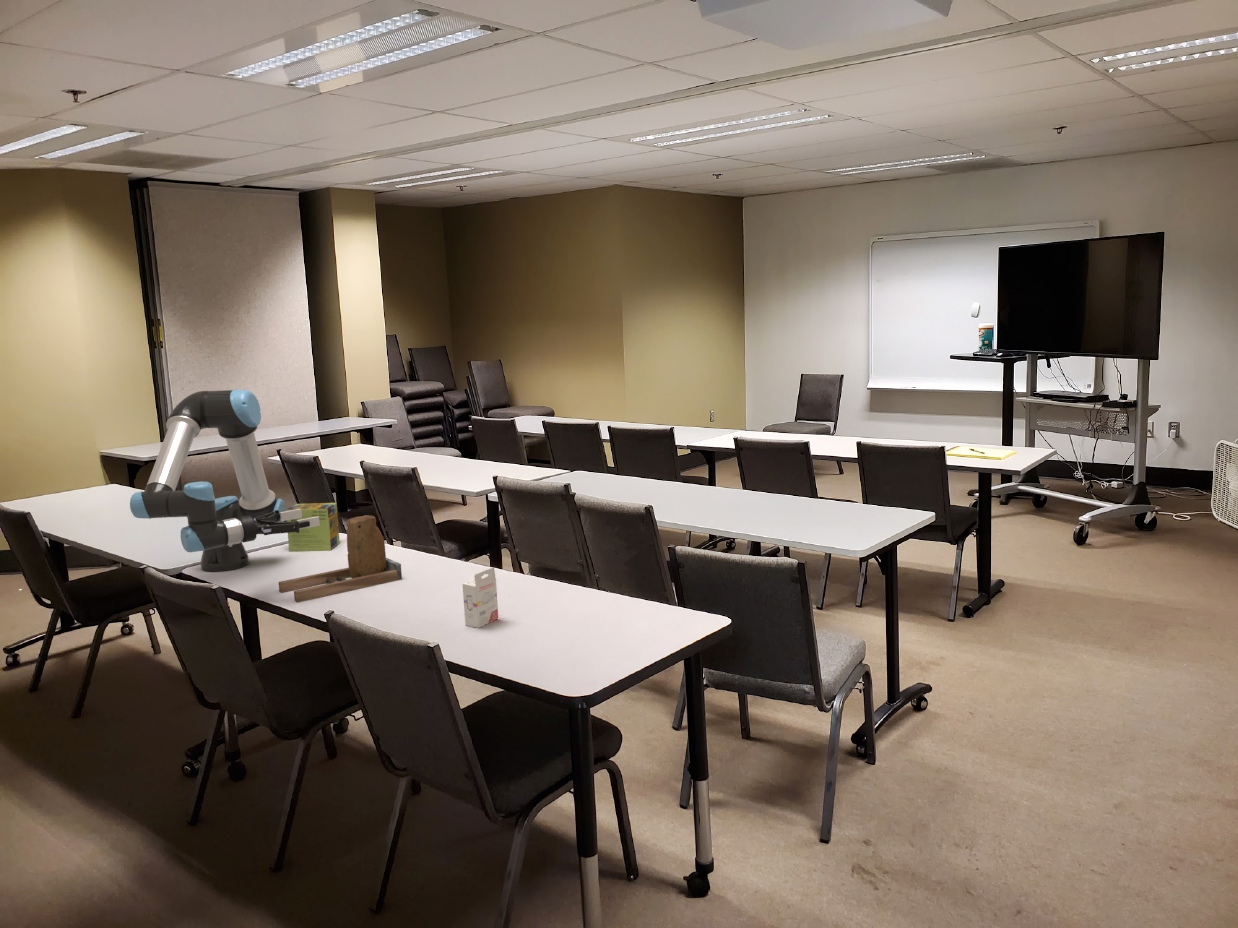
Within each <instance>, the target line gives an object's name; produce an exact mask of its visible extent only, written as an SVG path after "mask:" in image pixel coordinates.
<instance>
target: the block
mask: <svg viewBox="0 0 1238 928" xmlns="http://www.w3.org/2000/svg"><path fill="white" fill-rule="evenodd" d="M346 528H347V529H346V547H347V564H348V567H349V572H350V576H351V578H352V579H353V578H357V577H362V576H367V575H371V574H376V573H381V572H385V570H386V558H387V556H386V553H387V552H386V544H385V538H384V536H383V535H382V532H381V531H380V530H381V529H379V527H378V526H377V519H376V517H375V515H369V514H368V515H367V514H365V515H363V516H355V517H351V518H349V519H347V521H346Z"/></svg>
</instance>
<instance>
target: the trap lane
mask: <svg viewBox="0 0 1238 928" xmlns="http://www.w3.org/2000/svg"><path fill="white" fill-rule="evenodd" d="M402 576H403V575H402V563H400V562H398V561H395V560H393V559H390V558H389V557H386V570H385V572H381V573H376V574H371V575H367V576H362V577H357V578H353V579H352V578H351V576H350V572H349V566H348V567H346V568H340V569H335V570H329V571H325V572H320V573H315V574H311V575H307V576H306V575H305V576H302V577H301V576H300V577H296V578H291V579H287V580H281V581H278V591H279V592H280V593H287V592H291V591H293V598H294V602H295V603H301V602H306V601H309V600H310V601H311V600H313V599H318V598H319V599H320V598H323V597H328V596H332V595H337V594H341V593H345V592H350V591H351V592H352V591H354V590H358V589H363V588H364V589H365V588H368V587H374V586H377V585H383V584H387V583H392V582H395V581H399V580H402V579H403V577H402Z"/></svg>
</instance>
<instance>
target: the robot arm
mask: <svg viewBox="0 0 1238 928" xmlns="http://www.w3.org/2000/svg"><path fill="white" fill-rule="evenodd" d="M261 420H262V413H261V406H260V403H259V400H258V399H257V397H256V395H255V394H254V393H253V392H252V391H250V390H246V389H238V388H237V389H236V388H235V389H230V390H229V389H226V390H223V389H222V390H200V391H196V392H193V393H191V394H189V395H187V396H186V397H184V398H182V400H181V401H180V402H179V403H178V404H177V405H176V406H175V407H174V408H172V411H171V412H170V414H169V416H168V418H167V421H166V423H165V426H166V430H167V431H166V433H165V437H164V439H163V442H162V445H161V446H160V448H159V449H160V450H159V452H158V454H157V458H156V459H155V460H156V461H155V463H154V465H153V468H152V471H151V473H150V476H149V478H148V481H147V483H146V486H145V488H144V491H137V492H134V493H133V494H131V497H130V501H129V509H130V513H131V514H132V515H133V517H134V518H136V519H149V520H151V519H162V518H163V519H164V518H186V519H187V525H186V526H184V527H182V528H181V529H180V541H181V542H180V543H181V545H182V547H183V550H184V551H186V552H187V553H195V552H201V551H202V555H201V559H200V569H201V570H202V571H205V572H224V571H230V570H231V571H232V570H237V569H240V568H243V567H246V566H247V565H249V563H250V558H249V555H248V552H247V551H246V548H245V546H244V543H247V542H253V541H255V540H256V539H257V536H258V535H263V536H269V535H277V534H288V533H291V532H297V533H299V529H304V528H309V527H315V526H320V522H319V517H318V516H317V517H312V518H307V519H301V520H297V521H296V522H287V520H292V519H297V518H302V511H301V509H296V510H291V511H286V505H285V501H284V500H283V499H282V498H277V496H276V493H275V492H274V491H273V490H271V489H269V485H268V480H267V477H266V474H265V473H266V472H265V471H264V470H265V469H264V466H263V462H262V459H261V454H260V450H259V447H258V443H257V438H256V436H255V432H256V431H257V429H258V426H259V425H260V423H261ZM203 429H217V432H218V435H219V436H220V437H221V438H223V439H225V441H226V444H227V447H228V451H229V455H230V458H231V463H232V465H233V469H234V472H235V475H236V479H237V482H238V483H237V484H238V486H239V491H240V494H241V497H239V499H238V497H237V496H236V495H228V496H227V495H226V496H222V497H218V498H216V497H215V493H214V488H213V484H212V483H211V482H209V481H194V482H193V481H192V482H188V483H186V484H184V487H183V489H180V490H176V489H177V487H178V483H179V480H180V476H181V475H182V472H183V469H184V466H185V463H186V460H187V458H188V455H189V452H190V449H191V447H192V444H193V442H194V439H195V438H197V437H198V436H199V435H200V432H201V430H203ZM294 526H295V528H294Z"/></svg>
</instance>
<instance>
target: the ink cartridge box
mask: <svg viewBox="0 0 1238 928" xmlns="http://www.w3.org/2000/svg"><path fill="white" fill-rule="evenodd" d="M485 575H487V576H485ZM473 577H474V578H473V579H471V580H469V581H466V582H464V583H462V595H463V610H464V623H465V625H464V626H465V627H473V628H478V629H479V628H482V627H484V626H486V625H488V624H490V623H492V622H495V621H496V620H495V619H497V618H498V619H499V610H498V609H499V606H498V589H497V588H498V587H497V578H496V571H495V567H491V568H488V569H484V570H483V571H481V572H478V573H476V574H474V576H473ZM498 619H497V620H498ZM491 621H492V622H491ZM485 624H486V625H485ZM481 626H482V627H481Z"/></svg>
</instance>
